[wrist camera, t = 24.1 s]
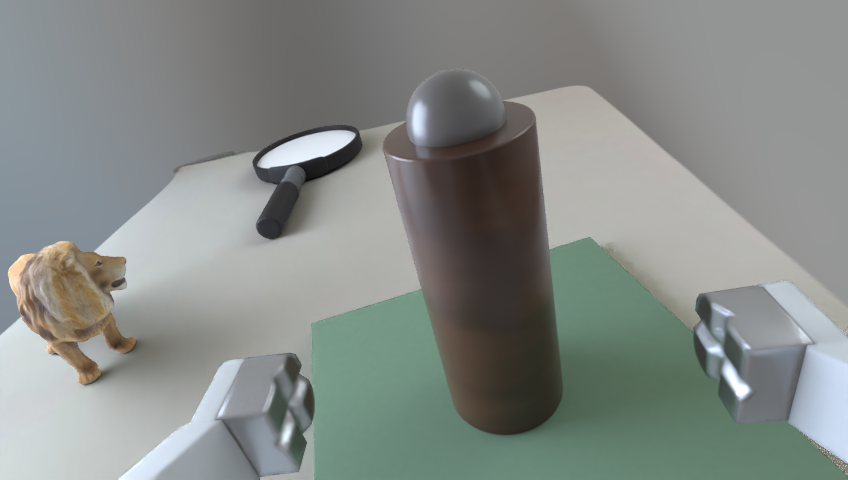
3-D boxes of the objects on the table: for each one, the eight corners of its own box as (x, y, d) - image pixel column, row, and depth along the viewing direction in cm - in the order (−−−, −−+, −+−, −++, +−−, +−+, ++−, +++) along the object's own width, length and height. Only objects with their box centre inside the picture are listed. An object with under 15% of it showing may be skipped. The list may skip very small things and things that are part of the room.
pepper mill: (535, 335, 25) (495, 39, 17) (584, 412, 20) (558, 62, 13) (440, 366, 24) (359, 77, 17) (469, 451, 20) (378, 112, 13)
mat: (590, 246, 31) (589, 236, 31) (871, 517, 16) (877, 503, 15) (315, 333, 30) (310, 323, 29) (326, 721, 14) (317, 711, 14)
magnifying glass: (204, 252, 42) (193, 231, 41) (273, 152, 63) (267, 136, 62) (343, 225, 41) (335, 202, 40) (367, 131, 62) (362, 114, 61)
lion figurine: (187, 343, 32) (113, 225, 27) (110, 406, 28) (10, 282, 24) (82, 302, 40) (10, 205, 35) (11, 347, 36) (-79, 246, 31)
